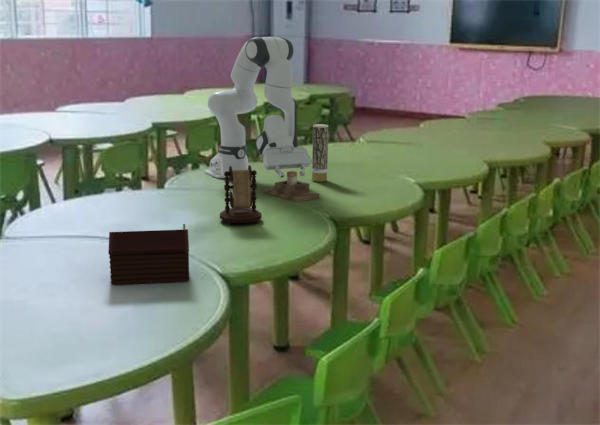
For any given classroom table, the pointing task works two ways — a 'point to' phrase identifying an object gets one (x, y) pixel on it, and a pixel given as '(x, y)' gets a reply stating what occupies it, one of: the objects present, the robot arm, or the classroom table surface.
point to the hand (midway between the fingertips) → (292, 175)
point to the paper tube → (320, 152)
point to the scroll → (240, 197)
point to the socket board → (292, 191)
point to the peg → (291, 178)
